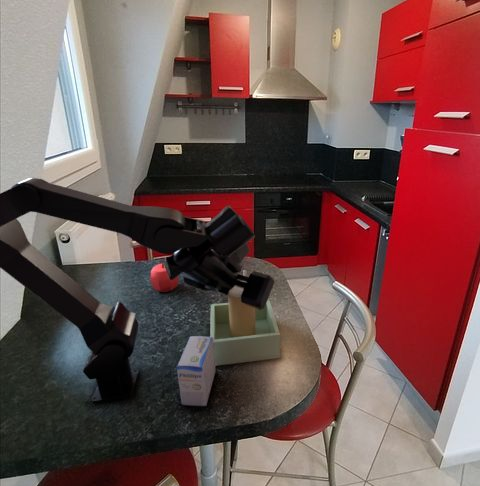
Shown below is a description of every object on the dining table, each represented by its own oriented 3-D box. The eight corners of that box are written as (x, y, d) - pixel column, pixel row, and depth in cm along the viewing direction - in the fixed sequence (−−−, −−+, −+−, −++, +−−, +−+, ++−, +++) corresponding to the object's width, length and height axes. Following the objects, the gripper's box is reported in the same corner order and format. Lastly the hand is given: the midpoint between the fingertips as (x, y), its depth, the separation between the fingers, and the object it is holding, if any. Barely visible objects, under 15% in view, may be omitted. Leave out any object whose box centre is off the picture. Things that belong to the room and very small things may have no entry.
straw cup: (257, 341, 69) (256, 278, 64) (230, 344, 68) (226, 280, 63) (254, 325, 75) (252, 265, 69) (229, 328, 74) (225, 267, 68)
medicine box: (193, 371, 62) (189, 335, 59) (216, 372, 62) (213, 335, 59) (181, 406, 55) (175, 366, 52) (207, 407, 55) (203, 366, 51)
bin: (279, 358, 66) (279, 334, 64) (212, 366, 63) (210, 342, 61) (269, 319, 78) (269, 298, 76) (212, 325, 76) (210, 304, 74)
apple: (158, 298, 87) (154, 272, 84) (147, 287, 93) (143, 262, 90) (185, 288, 92) (182, 263, 89) (173, 279, 97) (170, 254, 95)
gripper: (268, 235, 54) (297, 269, 67) (188, 218, 63) (226, 251, 76) (242, 297, 51) (277, 320, 64) (161, 270, 60) (206, 295, 72)
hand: (245, 293), depth 69 cm, fingers open, 9 cm apart
